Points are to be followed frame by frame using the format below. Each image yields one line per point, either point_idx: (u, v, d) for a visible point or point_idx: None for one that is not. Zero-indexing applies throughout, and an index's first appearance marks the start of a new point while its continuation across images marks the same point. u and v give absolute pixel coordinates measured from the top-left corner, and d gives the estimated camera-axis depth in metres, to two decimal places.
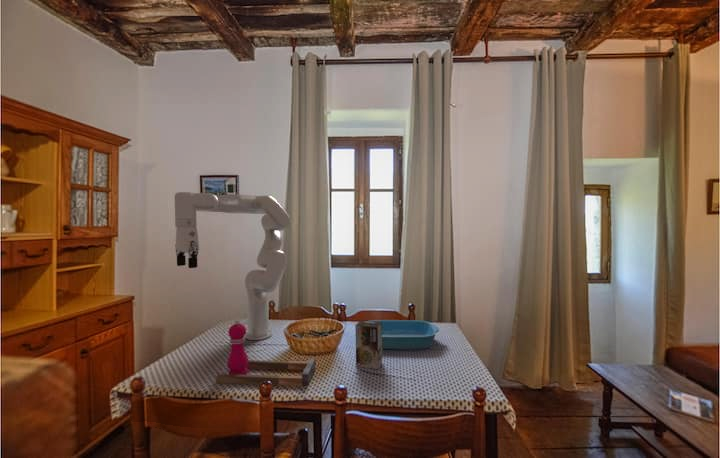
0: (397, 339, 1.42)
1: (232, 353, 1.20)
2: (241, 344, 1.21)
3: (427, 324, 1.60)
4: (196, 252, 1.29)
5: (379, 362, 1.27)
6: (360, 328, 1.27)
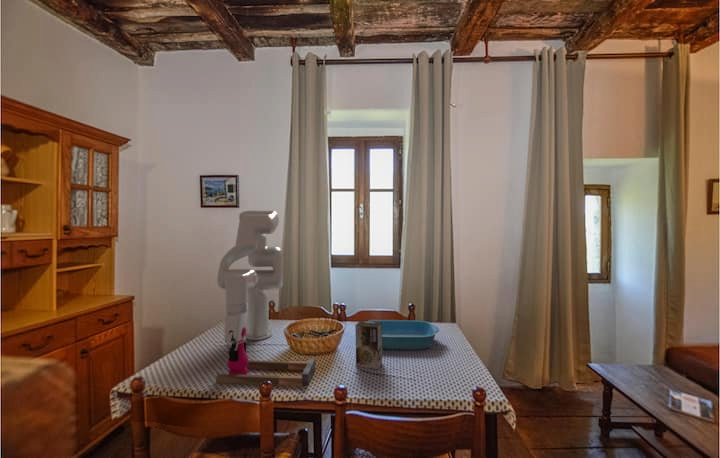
0: (397, 339, 1.42)
1: None
2: (241, 344, 1.21)
3: (427, 324, 1.59)
4: None
5: (379, 362, 1.27)
6: (360, 328, 1.27)
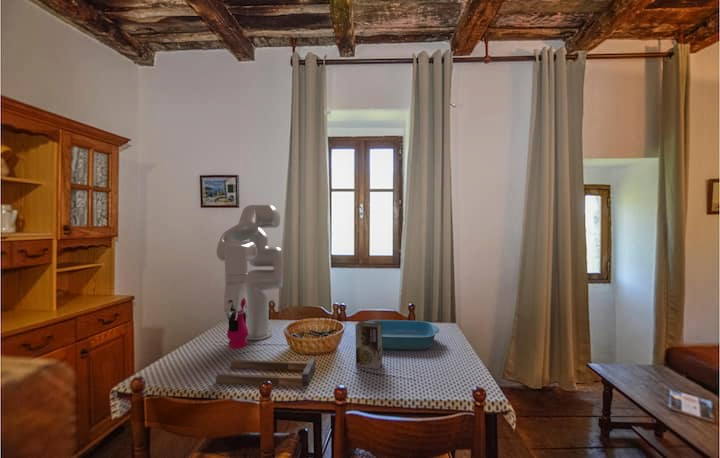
0: (396, 339, 1.42)
1: None
2: (241, 315, 1.20)
3: (428, 325, 1.59)
4: None
5: (379, 362, 1.27)
6: (360, 328, 1.27)
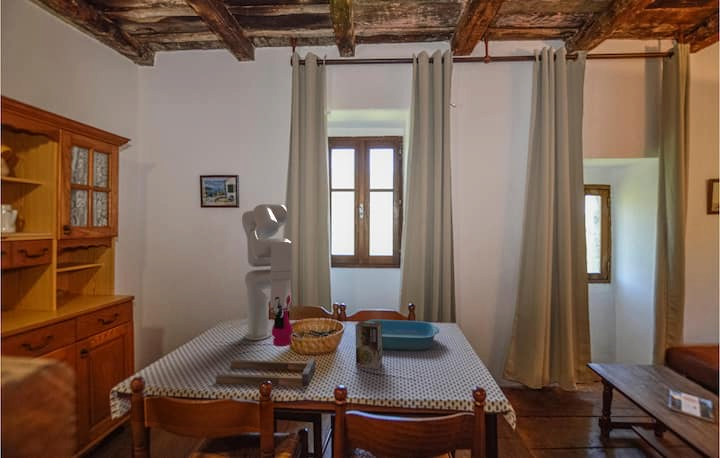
0: (395, 339, 1.42)
1: None
2: (286, 312, 1.19)
3: (429, 325, 1.58)
4: None
5: (379, 362, 1.27)
6: (360, 328, 1.27)
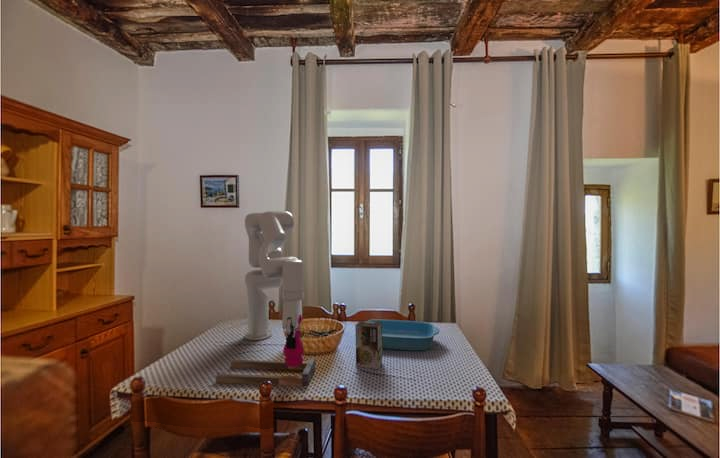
0: (393, 339, 1.42)
1: None
2: (297, 331, 1.19)
3: (430, 326, 1.57)
4: None
5: (379, 362, 1.27)
6: (360, 328, 1.27)
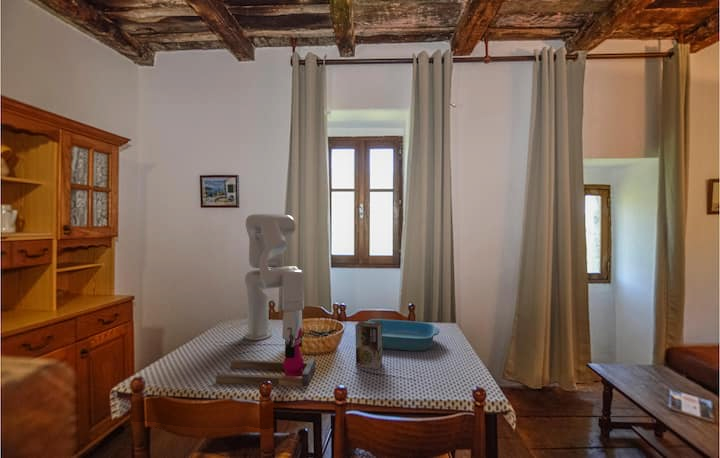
0: (392, 339, 1.43)
1: None
2: (297, 345, 1.20)
3: (431, 326, 1.56)
4: None
5: (379, 362, 1.27)
6: (360, 328, 1.27)
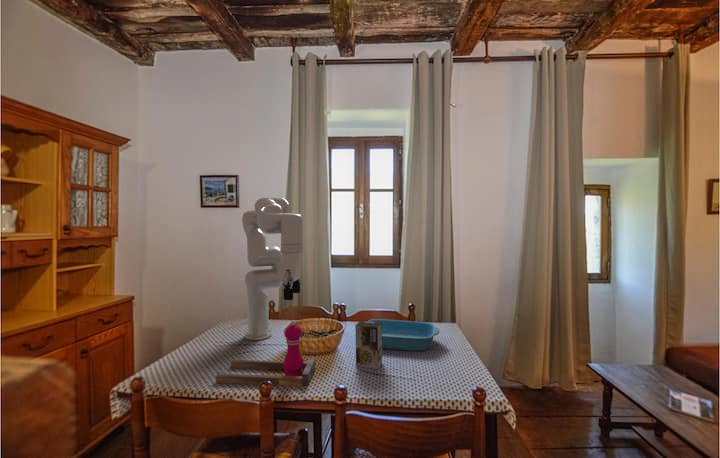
0: (392, 339, 1.42)
1: (289, 354, 1.19)
2: (297, 345, 1.20)
3: (431, 326, 1.56)
4: None
5: (379, 362, 1.27)
6: (360, 328, 1.27)
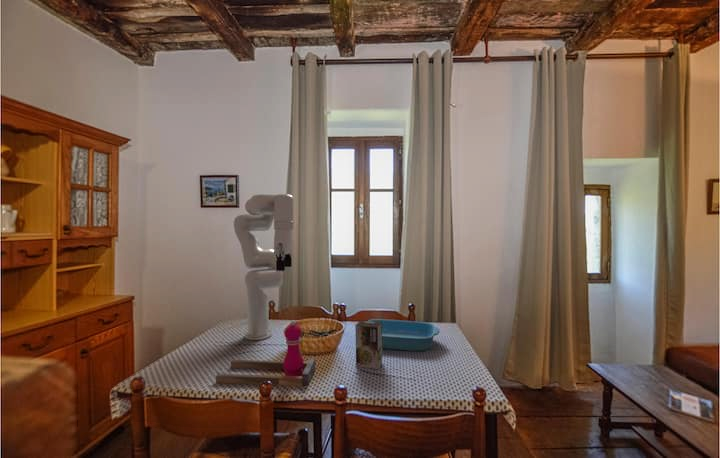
0: (392, 339, 1.43)
1: (289, 354, 1.19)
2: (297, 345, 1.19)
3: (431, 326, 1.56)
4: None
5: (379, 362, 1.27)
6: (360, 328, 1.27)
